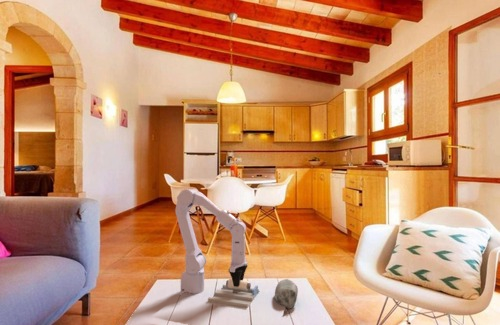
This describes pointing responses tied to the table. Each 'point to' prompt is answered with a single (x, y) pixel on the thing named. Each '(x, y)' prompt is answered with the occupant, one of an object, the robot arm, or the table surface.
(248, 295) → the beige mounting plate
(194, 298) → the table surface
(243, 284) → the cream cylinder
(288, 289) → the mottled grey stone
